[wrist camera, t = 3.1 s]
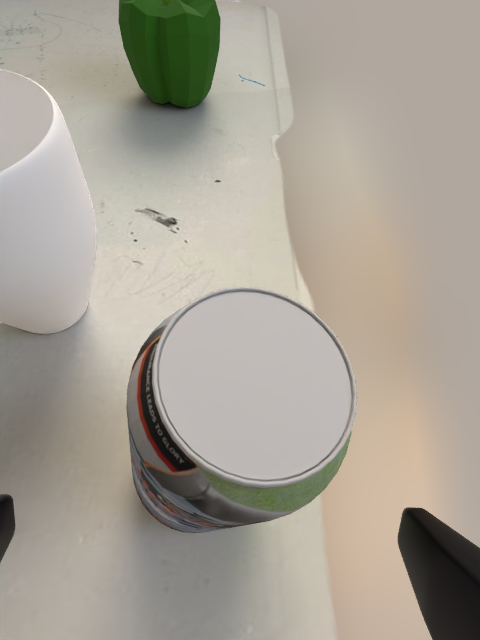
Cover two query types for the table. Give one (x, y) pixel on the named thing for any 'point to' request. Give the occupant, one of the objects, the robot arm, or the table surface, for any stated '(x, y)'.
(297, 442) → the beverage can
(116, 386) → the table surface
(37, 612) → the table surface
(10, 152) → the mug
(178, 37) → the bell pepper
